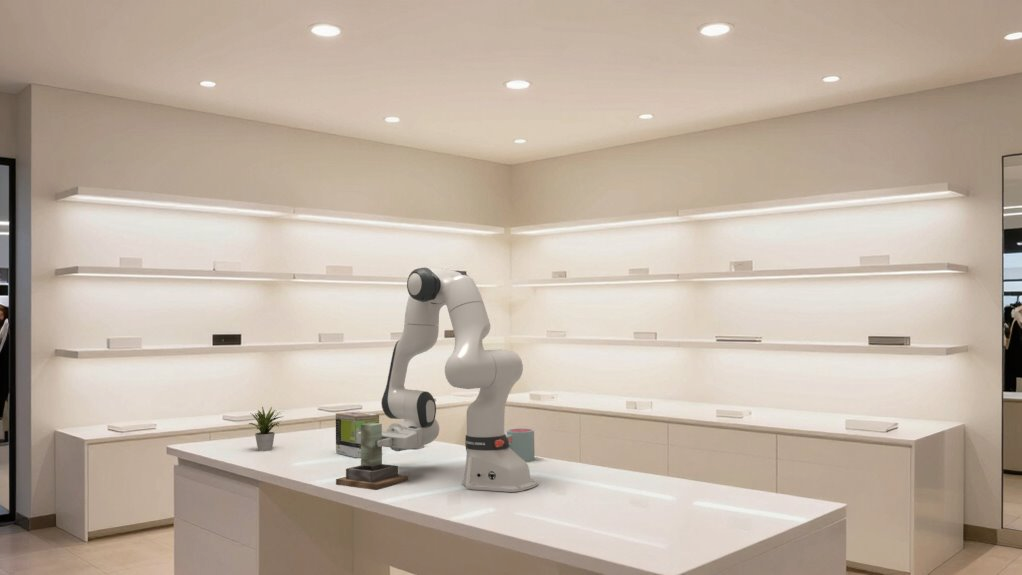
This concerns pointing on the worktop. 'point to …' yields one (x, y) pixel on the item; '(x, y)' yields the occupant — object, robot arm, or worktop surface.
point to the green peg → (371, 444)
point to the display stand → (372, 476)
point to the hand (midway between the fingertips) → (369, 442)
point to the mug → (522, 443)
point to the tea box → (351, 431)
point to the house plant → (265, 430)
